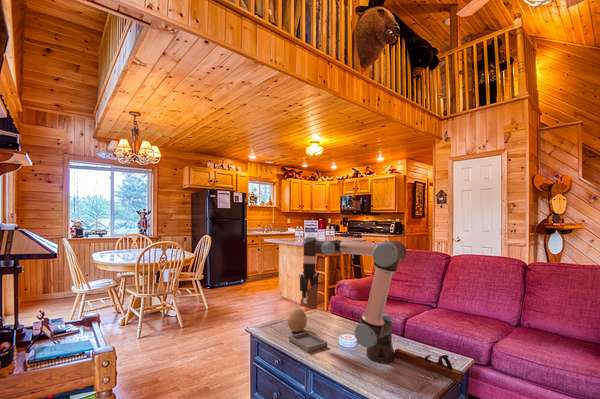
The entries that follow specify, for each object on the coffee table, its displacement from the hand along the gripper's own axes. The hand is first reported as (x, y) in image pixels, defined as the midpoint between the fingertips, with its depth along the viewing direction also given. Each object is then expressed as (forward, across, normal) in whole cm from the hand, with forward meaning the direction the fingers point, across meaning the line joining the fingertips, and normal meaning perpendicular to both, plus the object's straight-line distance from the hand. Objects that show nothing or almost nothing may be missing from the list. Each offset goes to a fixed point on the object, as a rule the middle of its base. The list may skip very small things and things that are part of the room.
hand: (308, 302), depth 184 cm
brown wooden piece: (+3, 0, 0) cm, 3 cm away
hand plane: (+25, -34, +55) cm, 69 cm away
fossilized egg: (+24, -6, -20) cm, 32 cm away
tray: (+24, 0, 0) cm, 24 cm away
